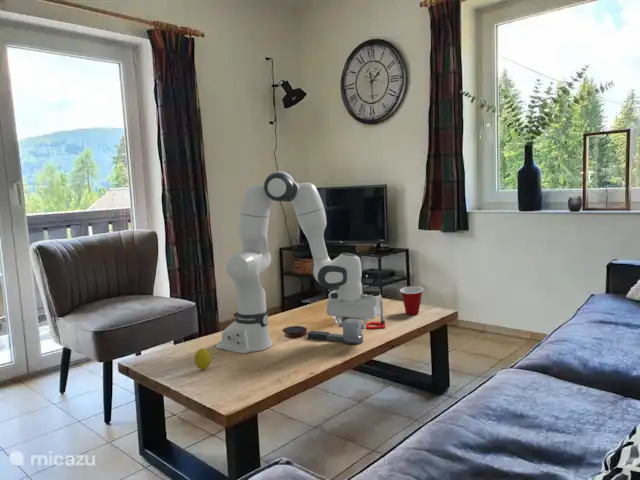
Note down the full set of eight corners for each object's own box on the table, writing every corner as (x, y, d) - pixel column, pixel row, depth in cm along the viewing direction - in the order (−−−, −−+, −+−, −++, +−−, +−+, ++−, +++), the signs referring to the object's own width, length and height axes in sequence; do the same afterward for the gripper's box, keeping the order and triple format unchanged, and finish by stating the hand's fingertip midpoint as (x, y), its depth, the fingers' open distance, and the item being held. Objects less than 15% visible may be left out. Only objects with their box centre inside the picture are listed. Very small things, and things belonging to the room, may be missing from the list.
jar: (383, 315, 237) (382, 290, 235) (367, 317, 235) (366, 292, 234) (377, 310, 246) (376, 286, 244) (361, 312, 244) (360, 288, 242)
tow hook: (364, 330, 216) (385, 329, 216) (361, 301, 215) (383, 299, 214) (363, 325, 225) (384, 323, 224) (361, 296, 223) (382, 295, 223)
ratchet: (305, 340, 205) (305, 326, 204) (313, 334, 212) (313, 320, 212) (359, 345, 196) (358, 330, 195) (365, 339, 203) (365, 324, 202)
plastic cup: (396, 315, 237) (395, 290, 235) (406, 309, 245) (406, 285, 244) (417, 318, 230) (416, 292, 229) (427, 312, 239) (427, 287, 237)
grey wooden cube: (343, 337, 199) (342, 322, 199) (348, 332, 205) (347, 318, 204) (357, 338, 197) (356, 323, 196) (361, 334, 202) (361, 319, 201)
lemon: (192, 370, 177) (190, 348, 176) (206, 366, 181) (204, 344, 180) (200, 374, 173) (199, 352, 172) (214, 369, 177) (213, 347, 176)
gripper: (378, 293, 198) (379, 327, 199) (330, 290, 206) (331, 323, 207) (374, 297, 192) (374, 332, 194) (324, 294, 200) (325, 327, 202)
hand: (352, 327), depth 201 cm, fingers open, 8 cm apart
